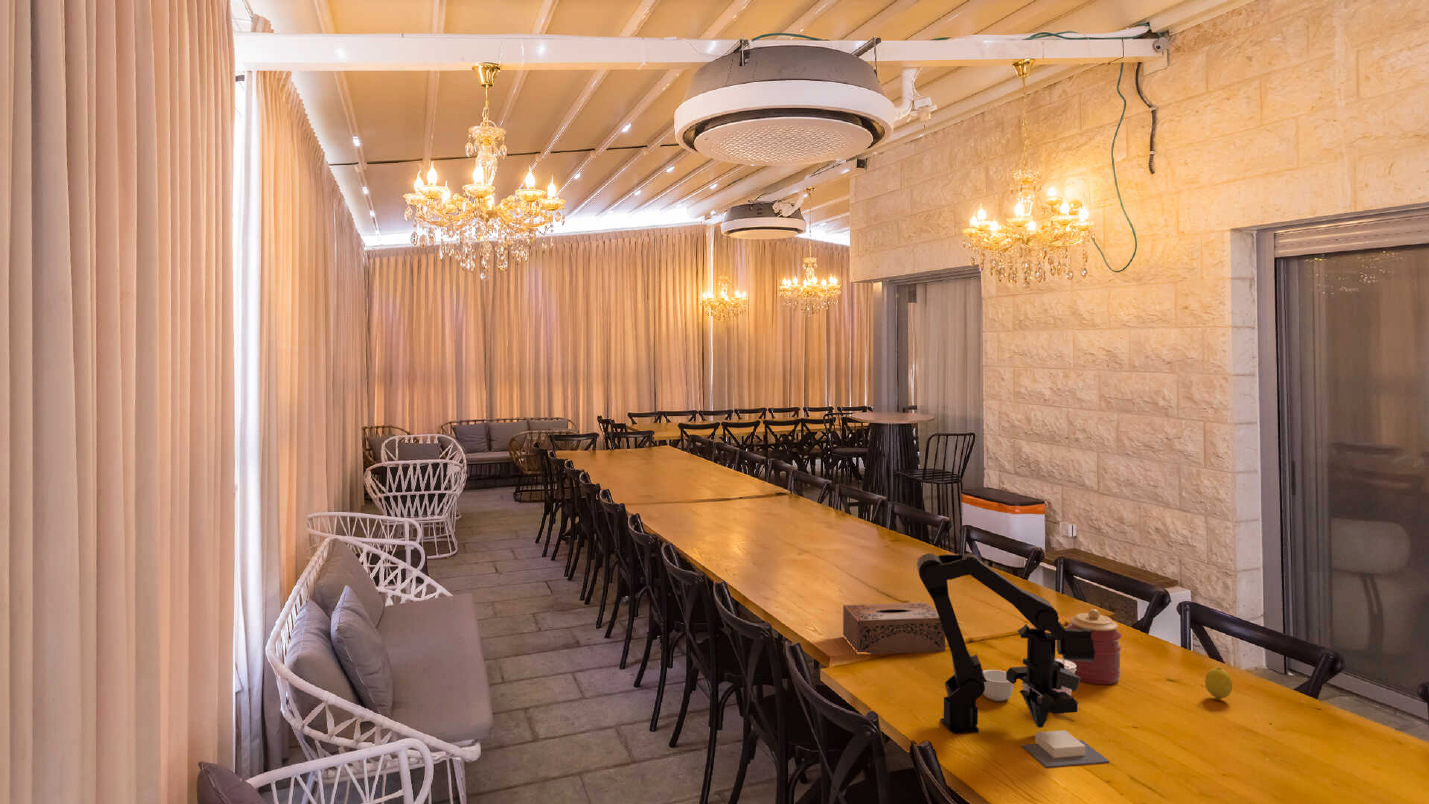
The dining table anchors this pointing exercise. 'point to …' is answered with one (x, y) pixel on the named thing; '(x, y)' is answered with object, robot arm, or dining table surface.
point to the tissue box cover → (893, 628)
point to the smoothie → (1070, 667)
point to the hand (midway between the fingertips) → (1039, 727)
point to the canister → (1099, 648)
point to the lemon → (1218, 683)
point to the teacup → (997, 685)
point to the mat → (1049, 761)
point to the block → (1060, 744)
